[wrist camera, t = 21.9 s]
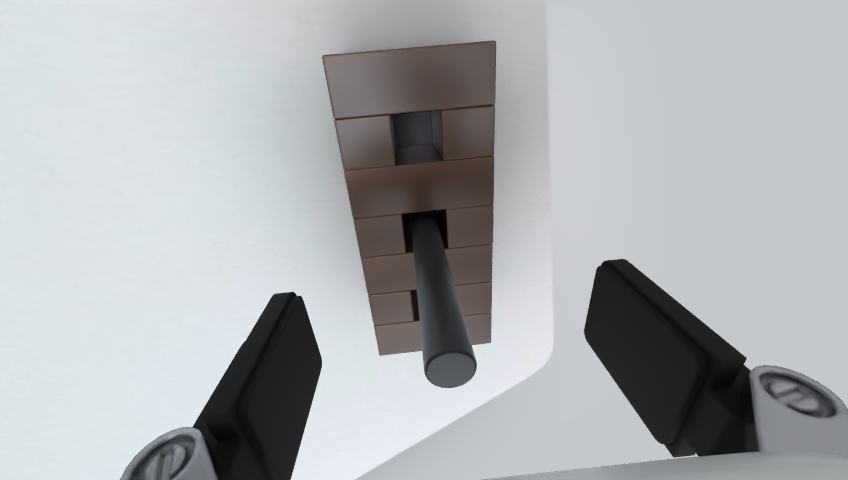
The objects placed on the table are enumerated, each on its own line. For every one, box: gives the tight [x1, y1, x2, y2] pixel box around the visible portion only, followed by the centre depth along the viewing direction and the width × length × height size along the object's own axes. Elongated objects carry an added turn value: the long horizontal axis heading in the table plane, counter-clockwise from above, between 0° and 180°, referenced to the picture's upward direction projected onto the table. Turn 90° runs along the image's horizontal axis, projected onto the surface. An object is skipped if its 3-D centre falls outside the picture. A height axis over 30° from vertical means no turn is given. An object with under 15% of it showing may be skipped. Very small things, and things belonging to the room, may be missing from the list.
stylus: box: [410, 210, 477, 388], centre depth 15 cm, size 2×2×14 cm
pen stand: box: [322, 41, 496, 355], centre depth 19 cm, size 17×7×5 cm, turn 5°
